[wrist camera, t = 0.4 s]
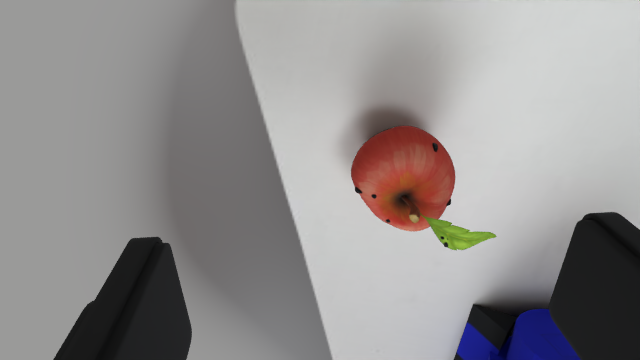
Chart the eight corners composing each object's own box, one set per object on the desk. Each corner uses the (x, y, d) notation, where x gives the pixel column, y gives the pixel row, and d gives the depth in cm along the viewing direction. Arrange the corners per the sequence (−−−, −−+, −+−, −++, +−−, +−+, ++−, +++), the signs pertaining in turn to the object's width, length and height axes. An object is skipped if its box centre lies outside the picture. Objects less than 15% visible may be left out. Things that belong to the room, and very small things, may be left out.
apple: (346, 193, 32) (366, 281, 24) (342, 112, 29) (364, 179, 20) (442, 184, 32) (496, 269, 24) (449, 102, 29) (516, 165, 20)
